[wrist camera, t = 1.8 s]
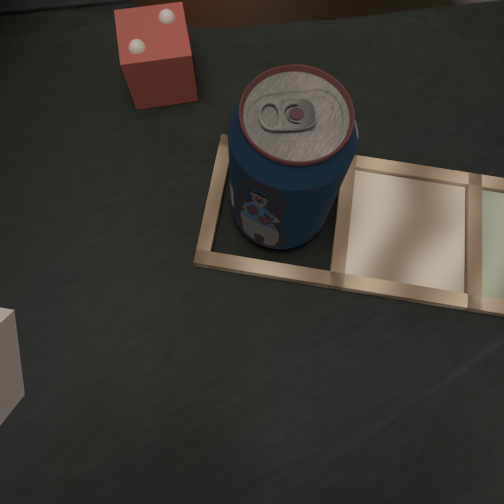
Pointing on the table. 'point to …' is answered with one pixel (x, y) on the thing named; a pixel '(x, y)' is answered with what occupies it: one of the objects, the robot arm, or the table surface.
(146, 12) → the die
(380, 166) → the tan flat wooden frame
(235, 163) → the soda can
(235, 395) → the table surface
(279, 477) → the table surface
